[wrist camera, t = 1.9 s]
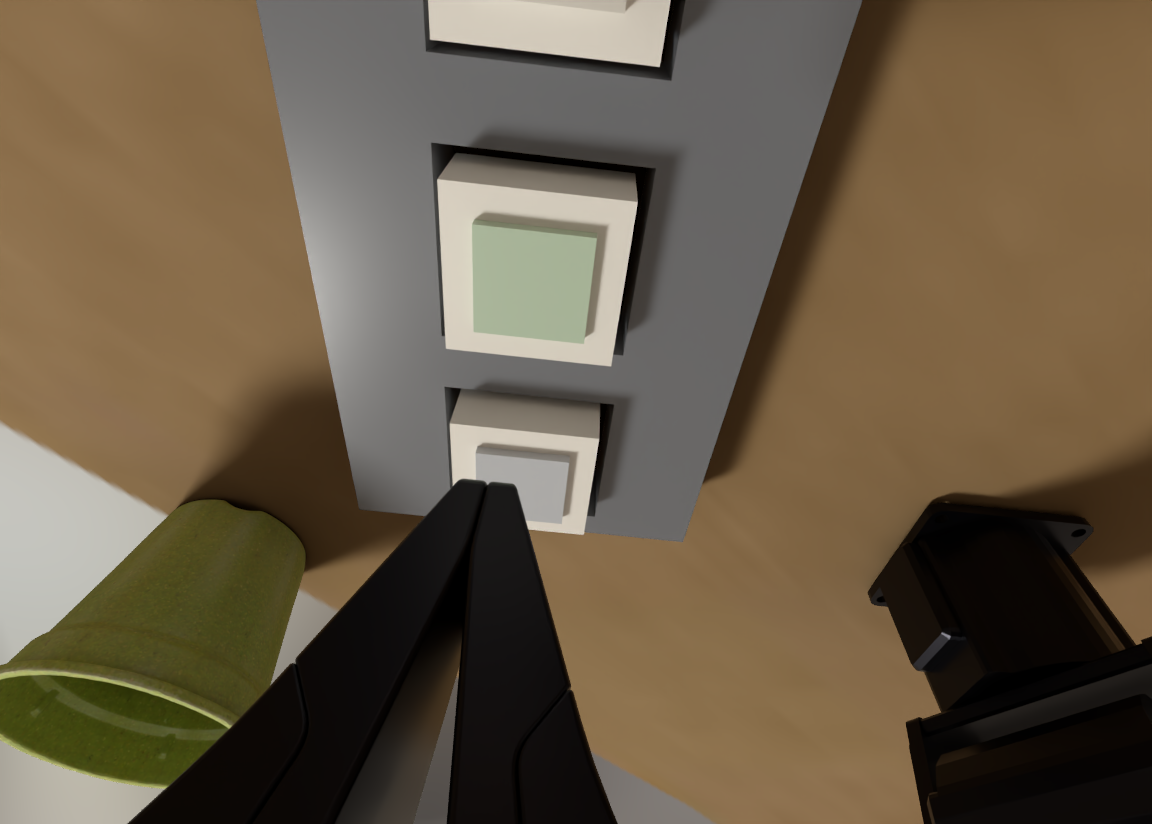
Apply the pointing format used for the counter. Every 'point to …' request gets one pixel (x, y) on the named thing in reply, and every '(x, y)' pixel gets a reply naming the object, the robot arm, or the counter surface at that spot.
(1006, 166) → the counter surface
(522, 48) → the key ivory
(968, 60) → the counter surface
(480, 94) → the gray key board
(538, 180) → the key sage
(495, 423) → the key slate
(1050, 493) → the counter surface
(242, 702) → the plant pot
